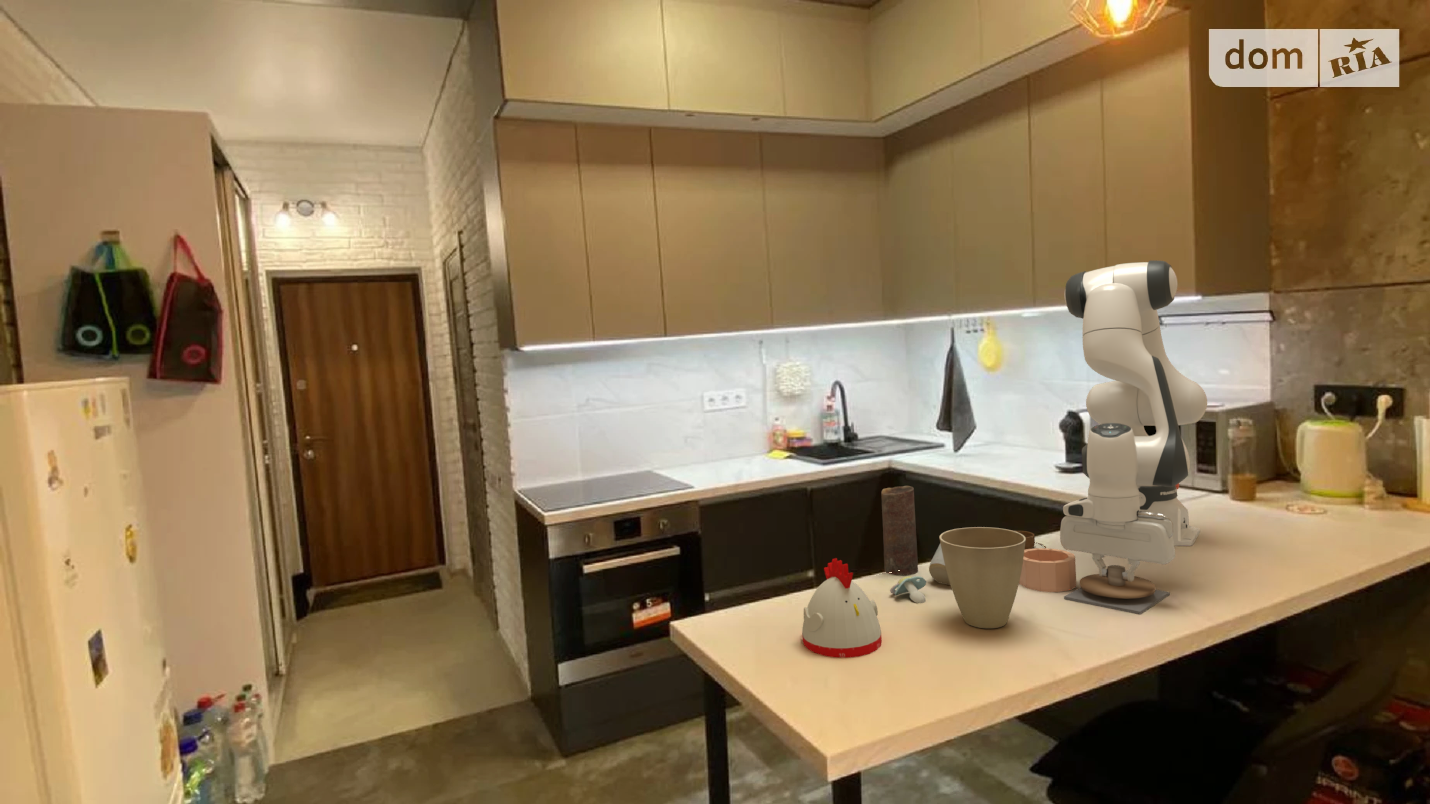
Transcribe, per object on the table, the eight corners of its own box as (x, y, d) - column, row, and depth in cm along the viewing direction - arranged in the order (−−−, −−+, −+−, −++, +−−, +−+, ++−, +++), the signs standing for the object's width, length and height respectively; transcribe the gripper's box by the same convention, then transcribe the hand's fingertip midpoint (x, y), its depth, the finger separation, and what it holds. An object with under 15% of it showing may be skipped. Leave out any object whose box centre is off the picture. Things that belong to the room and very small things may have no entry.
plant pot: (929, 626, 141) (925, 541, 140) (963, 603, 152) (959, 524, 151) (1011, 643, 131) (1007, 551, 130) (1041, 616, 142) (1037, 531, 141)
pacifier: (911, 587, 162) (923, 569, 158) (927, 612, 158) (940, 595, 154) (883, 593, 158) (894, 576, 155) (899, 619, 154) (911, 602, 151)
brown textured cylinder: (919, 580, 169) (914, 490, 167) (885, 581, 170) (880, 491, 169) (917, 570, 176) (912, 484, 175) (884, 570, 178) (879, 485, 176)
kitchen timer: (829, 664, 128) (823, 575, 127) (788, 638, 141) (783, 557, 140) (897, 646, 134) (892, 561, 133) (853, 622, 146) (848, 545, 145)
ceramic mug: (942, 591, 165) (918, 566, 165) (958, 564, 169) (935, 539, 169) (977, 585, 156) (952, 558, 156) (993, 556, 160) (969, 530, 160)
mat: (1095, 581, 160) (1095, 579, 160) (1169, 594, 149) (1169, 592, 149) (1064, 598, 151) (1064, 596, 151) (1140, 614, 140) (1140, 611, 140)
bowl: (1034, 572, 168) (1033, 545, 168) (1085, 581, 160) (1084, 553, 160) (1008, 585, 161) (1007, 557, 161) (1060, 595, 153) (1058, 565, 153)
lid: (1097, 577, 159) (1096, 554, 159) (1166, 589, 149) (1165, 565, 149) (1068, 593, 151) (1067, 569, 151) (1138, 607, 141) (1138, 581, 141)
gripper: (1179, 511, 143) (1181, 584, 144) (1069, 500, 159) (1072, 565, 160) (1166, 518, 139) (1168, 592, 140) (1054, 505, 155) (1057, 573, 156)
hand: (1116, 578), depth 150 cm, fingers closed on lid, 3 cm apart
